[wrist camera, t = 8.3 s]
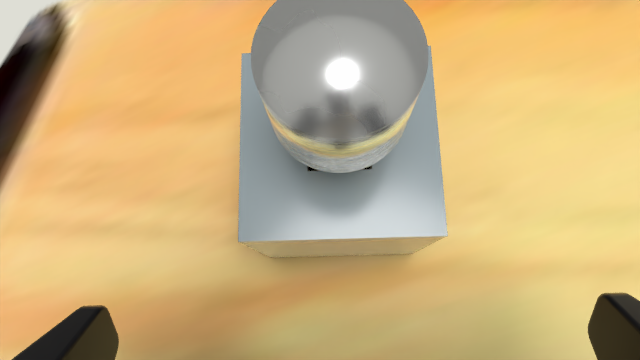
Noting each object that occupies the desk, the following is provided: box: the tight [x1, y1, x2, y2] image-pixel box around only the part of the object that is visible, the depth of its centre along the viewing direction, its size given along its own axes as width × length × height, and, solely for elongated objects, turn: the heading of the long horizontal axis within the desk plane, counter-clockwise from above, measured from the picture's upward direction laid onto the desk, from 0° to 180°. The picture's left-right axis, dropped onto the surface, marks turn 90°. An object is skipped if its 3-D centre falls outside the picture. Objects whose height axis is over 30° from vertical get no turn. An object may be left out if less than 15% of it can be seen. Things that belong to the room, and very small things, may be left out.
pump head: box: [251, 0, 428, 173], centre depth 13 cm, size 5×3×9 cm, turn 1°
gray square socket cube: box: [238, 46, 448, 258], centre depth 16 cm, size 6×6×6 cm
